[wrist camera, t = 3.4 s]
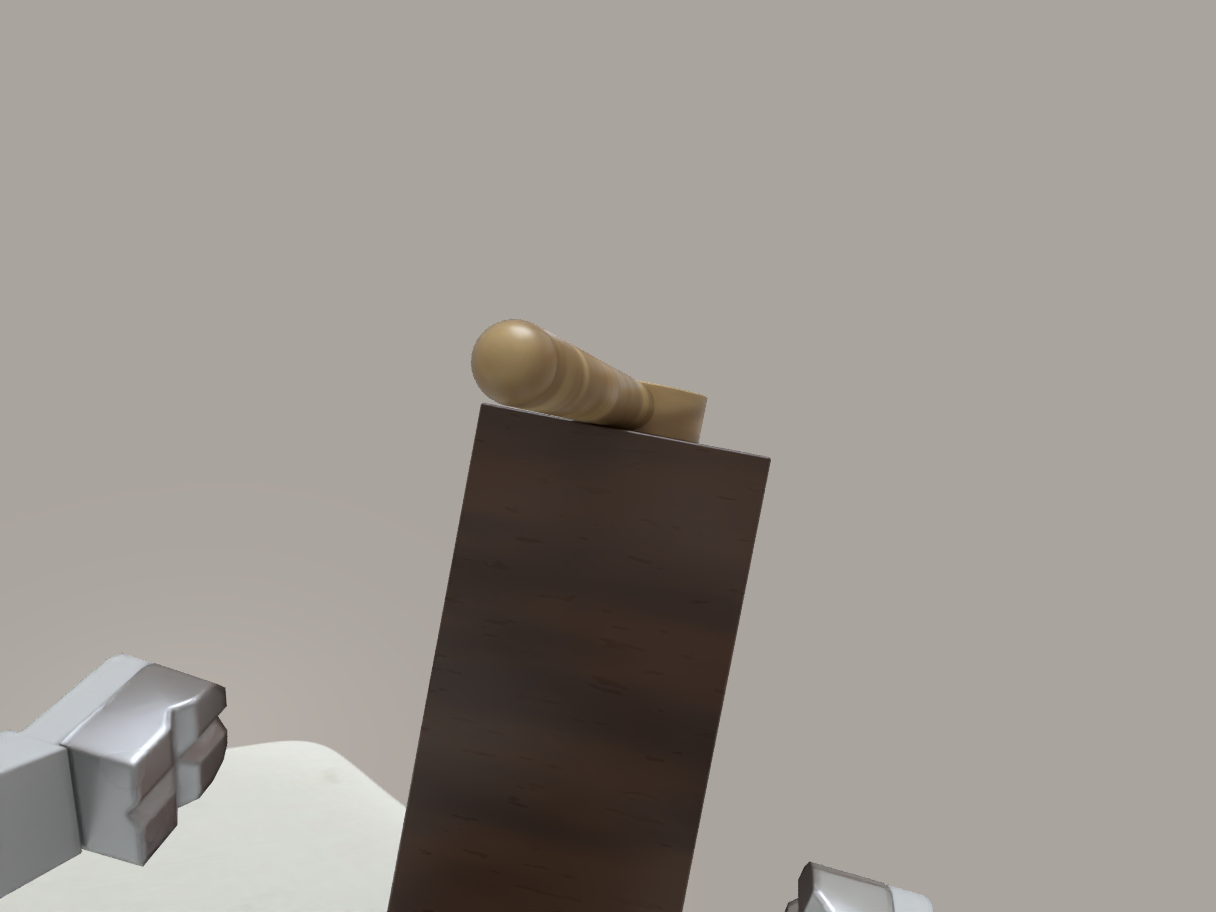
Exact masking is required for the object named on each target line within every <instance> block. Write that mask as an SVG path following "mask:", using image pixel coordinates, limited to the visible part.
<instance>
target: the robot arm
mask: <svg viewBox="0 0 1216 912" xmlns="http://www.w3.org/2000/svg"><path fill="white" fill-rule="evenodd" d="M226 706H227V705H226V691H225V688H224V687H222V686H220V685H218V684H215V683H213V682H209V681H207V680H203V679H200V678H197V677H195V676H192V675H189V674H185V673H183V672H180V671H177V670H173V669H171V668H167V667H165V666H161V665H158V664H155V663H151V662H148V661H145V660H142V659H139V658H136V657H133V656H129V655H126V654H123V653H121V654H118V655H116V656H113V657H110V658H108V659H107V660H106V661H105V662H103V663H102V664H101V665H100V666H99V667H97V668H96V669H95V670H94V671H93V672H91V673H90V674H89V675H88V676H87V677H85V678H84V679H83V680H82V681H81V682H79V683H78V684H77V685H76V686H75V687H74V688H72V689H71V690H70V691H69V692H68V693H66V694H65V695H64V696H63V697H62V698H60V699H59V700H58V701H57V702H56V703H55V704H53V705H52V706H51V707H50V708H49V709H47V710H46V711H45V712H44V713H43V714H41V716H39V717H38V718H37V719H35V720H34V721H33V722H32V723H31V724H30V725H28V726H27V727H26V728H25V729H24V730H22V731H21V732H20V733H19V732H15V731H12V730H8V731H5V732H2V733H0V898H2V897H4V896H5V895H7V894H9V893H11V892H13V891H14V890H16V889H18V888H20V887H22V886H23V885H25V884H27V883H29V882H30V881H32V880H34V879H36V878H38V877H39V876H41V875H43V874H45V873H46V872H48V871H50V870H52V869H54V868H55V867H57V866H59V865H61V864H63V863H64V862H66V861H68V860H70V859H71V858H73V857H75V856H77V855H79V854H80V853H81V852H82V850H81V849H84V850H88V851H91V852H95V853H98V854H101V855H105V856H108V857H112V858H115V859H119V860H122V861H125V862H129V863H132V864H136V865H139V866H142V867H143V866H144V865H145V863H146V862H147V861H148V860H149V859H150V857H151V856H152V855H153V854H154V853H155V851H156V850H157V849H158V848H159V847H160V845H161V844H162V843H163V842H164V840H165V839H166V838H167V837H168V836H169V834H170V833H171V832H172V831H173V830H174V828H175V827H176V826H177V817H178V808H179V807H181V806H183V805H186V804H188V803H190V802H192V801H194V800H197V799H199V798H200V797H201V795H202V794H203V793H204V792H205V790H206V789H207V788H208V787H209V785H210V784H211V783H212V782H213V780H214V778H215V776H216V774H217V772H218V770H219V768H220V766H221V764H222V762H223V760H224V756H225V751H226V747H227V729H226V728H225V726H224V725H223V723H222V722H221V720H220V719H219V717H218V715H219V714H220V713H221V712H222V711H223V709H224V708H225V707H226ZM785 912H933V907H932V904H931V902H930V901H929V899H928V897H927V896H923V895H920V894H917V893H914V892H910V891H907V890H904V889H900V888H897V887H893V886H890V885H885V884H884V883H882V882H878V881H875V880H871V879H868V878H864V877H861V876H858V875H854V874H851V873H847V872H843V871H840V870H837V869H833V868H830V867H826V866H823V865H819V864H816V863H812V862H809V863H808V864H807V865H806V866H805V867H804V869H803V871H802V873H801V875H800V877H799V879H798V898H797V899H795V900H793V901H791V902H789V903H788V905H787V907H786V910H785Z"/></svg>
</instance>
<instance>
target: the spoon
mask: <svg viewBox="0 0 1216 912" xmlns="http://www.w3.org/2000/svg"><path fill="white" fill-rule="evenodd" d="M471 367H472V373H473V376H474V379H475V380H476V383H477V385H478V387H479V388H480V389H481V390H482V392H483V393H484V394H485V395H486V396H488V397H489V398H490V399H492V400H494V401H495V402H497V403H499V404H503V405H506V406H511V407H515V408H520V409H525V410H530V411H535V412H539V413H544V414H549V415H554V416H559V417H563V418H568V419H573V420H576V421H581V422H587V423H592V424H597V425H602V426H608V427H613V428H618V429H624V430H629V431H634V432H639V433H645V434H650V435H655V436H660V437H666V438H671V439H676V440H681V441H687V442H692V443H697V444H698V443H699V438H700V433H701V428H702V423H703V418H704V412H705V407H706V402H707V398H706V397H705V396H703V395H700V394H696V393H693V392H690V391H685V390H681V389H677V388H673V387H668V386H663V385H658V384H653V383H648V382H643V381H637V380H636V379H634V378H632V377H630V376H628V375H626V374H625V373H623V372H621V371H619V370H617V369H615V368H614V367H612V366H610V365H608V364H606V363H604V362H603V361H601V360H599V359H597V358H595V357H594V356H592V355H590V354H588V353H586V352H584V351H583V350H581V349H579V348H577V347H575V346H574V345H572V344H570V343H568V342H566V341H564V340H563V339H561V338H559V337H557V336H555V335H553V334H552V333H550V332H548V331H546V330H544V329H543V328H540V327H539V326H537V325H535V324H533V323H531V322H528V321H524V320H518V319H509V320H504V321H501V322H498V323H496V324H494V325H492V326H490V327H489V328H488V329H486V330H485V331H484V332H483V333H482V334H481V335H480V337H479V338H478V339H477V341H476V344H475V345H474V348H473V352H472V357H471Z"/></svg>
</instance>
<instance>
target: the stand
mask: <svg viewBox="0 0 1216 912" xmlns="http://www.w3.org/2000/svg"><path fill="white" fill-rule="evenodd" d="M770 462H771V459H770V458H769V457H766V456H760V455H755V454H750V453H744V452H739V451H734V450H729V449H723V448H718V447H713V446H708V445H703V444H697V443H692V442H687V441H681V440H676V439H671V438H666V437H660V436H655V435H650V434H645V433H639V432H634V431H629V430H624V429H618V428H613V427H608V426H602V425H597V424H592V423H587V422H581V421H576V420H571V419H566V418H560V417H555V416H550V415H545V414H539V413H533V412H528V411H523V410H518V409H513V408H508V407H502V406H497V405H492V404H486V403H482V404H481V407H480V412H479V418H478V423H477V429H476V435H475V439H474V445H473V450H472V456H471V461H470V466H469V472H468V477H467V483H466V489H465V494H464V499H463V504H462V510H461V515H460V521H459V526H458V532H457V537H456V542H455V548H454V553H453V559H452V564H451V569H450V575H449V580H448V586H447V591H446V596H445V602H444V607H443V612H442V618H441V623H440V629H439V635H438V640H437V645H436V650H435V656H434V661H433V667H432V672H431V677H430V683H429V688H428V694H427V699H426V704H425V710H424V716H423V721H422V726H421V731H420V737H419V742H418V748H417V753H416V759H415V764H414V770H413V775H412V780H411V785H410V792H409V797H408V802H407V807H406V813H405V818H404V823H403V829H402V834H401V840H400V845H399V850H398V856H397V861H396V867H395V872H394V877H393V883H392V888H391V894H390V899H389V904H388V910H387V912H682V910H683V905H684V900H685V895H686V889H687V884H688V879H689V874H690V869H691V864H692V859H693V854H694V849H695V843H696V838H697V834H698V828H699V823H700V818H701V813H702V808H703V803H704V798H705V793H706V788H707V782H708V778H709V772H710V767H711V762H712V757H713V752H714V747H715V742H716V736H717V732H718V727H719V721H720V716H721V711H722V706H723V701H724V695H725V691H726V686H727V681H728V676H729V670H730V665H731V660H732V655H733V650H734V645H735V640H736V635H737V630H738V625H739V620H740V615H741V609H742V604H743V599H744V594H745V588H746V584H747V579H748V573H749V569H750V563H751V559H752V553H753V548H754V543H755V538H756V533H757V527H758V523H759V517H760V512H761V508H762V503H763V497H764V492H765V487H766V482H767V477H768V472H769V467H770Z"/></svg>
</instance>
